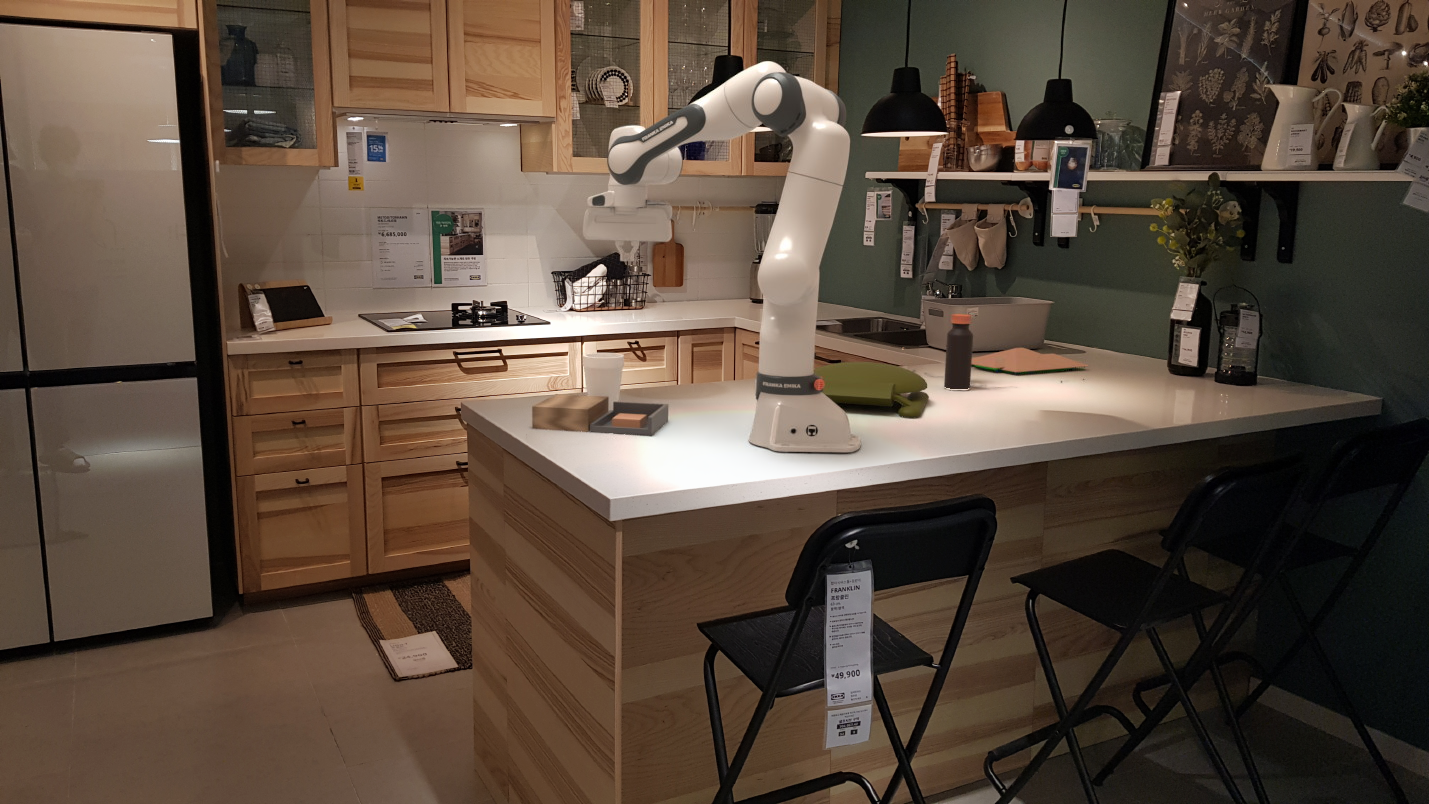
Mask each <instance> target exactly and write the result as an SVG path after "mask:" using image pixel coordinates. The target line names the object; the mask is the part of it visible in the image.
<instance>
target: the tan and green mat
mask: <svg viewBox="0 0 1429 804" xmlns="http://www.w3.org/2000/svg"><path fill="white" fill-rule="evenodd" d="M971 365H972V366H974V367H976V368H979V369H982V370H983V371H988V370H992V371H994V373H996V374H998V373H1000V372H1001V374H1002V373H1003V371H1005V372H1009V374H1011V375H1012V376H1013V373H1014V376H1017V375H1018V376H1019V373H1020V376H1021V375H1022V376H1023V375H1024V374H1025V375H1026V374H1027V375H1028V374H1029V375H1031V374H1032V372H1033V374H1034V373H1035V374H1036V373H1037V374H1038V373H1039V374H1040V373H1042V372H1043V373H1044V372H1045V373H1046V372H1047V373H1048V372H1049V373H1052V372H1054V371H1056V370H1063V369H1066V370H1067V369H1068V370H1069V369H1072V370H1073V369H1074V370H1075V369H1076V370H1077V368H1078V369H1079V368H1080V369H1084V368H1085V369H1086V367H1090V365H1089V364H1085V363H1082V362H1080V361H1077V360H1074V359H1070V358H1068V357H1065V356H1062V355H1059V354H1056V353H1043V354H1042V353H1040V352H1037V351H1034V350H1031V349H1028V348H1025V347H1015V348H1011V349H1007V350H1003V351H1002V350H1001V351H999V352H993V353H990V354H989V353H988V354H985V355H981V356H976V357H972V363H971ZM1075 367H1076V368H1075ZM1017 373H1018V374H1017Z"/></svg>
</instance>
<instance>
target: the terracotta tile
mask: <svg viewBox="0 0 1429 804" xmlns="http://www.w3.org/2000/svg"><path fill="white" fill-rule="evenodd" d="M646 424H647V415H643V414H624V413H619V414H618V415H616V416H615V417H614V418H612V427H629V428H642V427H643V426H645V425H646Z"/></svg>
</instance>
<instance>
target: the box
mask: <svg viewBox="0 0 1429 804" xmlns="http://www.w3.org/2000/svg"><path fill="white" fill-rule="evenodd" d="M619 413H624V414H643V415H647V424H646V425H645V426H643V427H642V428H629V427H612V418H614V417H615V416H616V415H618V414H619ZM667 423H669V403H652V402H649V403H648V402H635V401H618V402H616V401H614V402H613V410H610V411H609V412H607V413H606V414H604V415H603V416H601V417H600V418H598V419H597V420H595V421H594V422H592V423H591V424H590V431H589V432H590V433H594V434H595V433H597V434H609V433H613V434H612V435H624V434H625V435H628V436H642V437H653V436H654V435H655V434H656V433H657V432H659V430H661V428H662V427H664V426H665V425H666V424H667ZM663 425H664V426H663ZM652 435H653V436H652Z"/></svg>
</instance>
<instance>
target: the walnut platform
mask: <svg viewBox="0 0 1429 804" xmlns="http://www.w3.org/2000/svg"><path fill="white" fill-rule="evenodd" d="M607 412H609V397H605V396H588V395H582V394H580V395H579V394H561V393H555V394H553V395H552V396H550V397H548V398H545V399H544V400H541V401H540V402H538V403H536V404H534V405H533V406H532V407H531V418H532V422H531V423H532V424H531V426H532V430H533V429H534V430H536V429H537V430H548V429H549V430H552V431H563V430H564V431H566V432H567V431H568V432H578V431H580V433H581V431H582V433H589V432H590V424H591V423H592V422H594V421H595V420H597V419H598V418H600V417H601V416H603V415H604V414H606V413H607ZM549 430H548V431H549Z"/></svg>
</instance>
